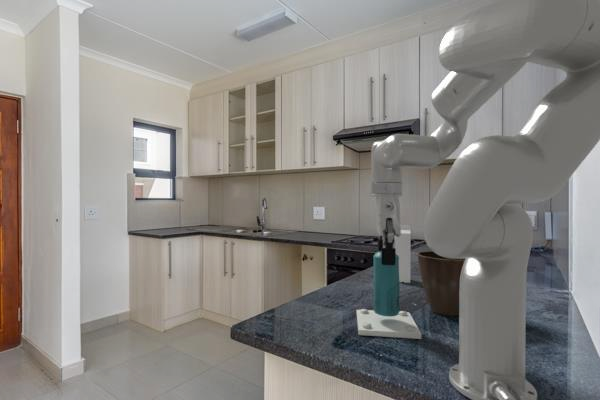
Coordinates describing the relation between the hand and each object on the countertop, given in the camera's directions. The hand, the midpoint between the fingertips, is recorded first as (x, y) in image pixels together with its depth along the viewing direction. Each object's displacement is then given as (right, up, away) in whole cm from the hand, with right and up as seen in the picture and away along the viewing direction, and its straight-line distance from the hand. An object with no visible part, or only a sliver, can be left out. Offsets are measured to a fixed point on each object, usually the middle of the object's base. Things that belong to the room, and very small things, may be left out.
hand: (386, 261), depth 80 cm
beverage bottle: (0, -14, 0) cm, 14 cm away
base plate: (0, -16, 0) cm, 16 cm away
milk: (+18, -16, +45) cm, 51 cm away
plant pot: (+20, -16, +11) cm, 28 cm away
